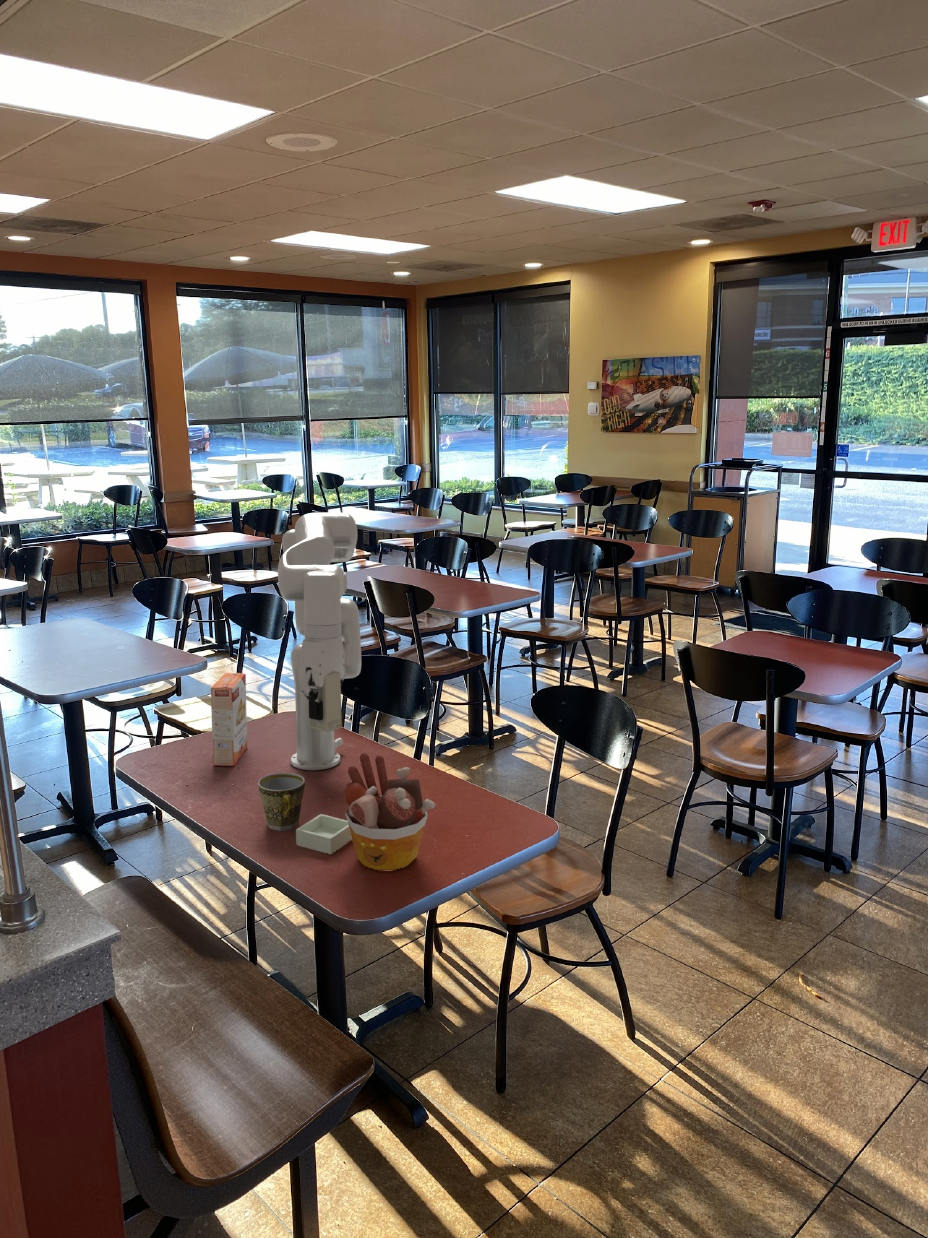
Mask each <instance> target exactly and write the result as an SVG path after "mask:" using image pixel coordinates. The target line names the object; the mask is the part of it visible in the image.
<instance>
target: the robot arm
mask: <svg viewBox="0 0 928 1238" xmlns="http://www.w3.org/2000/svg"><path fill="white" fill-rule="evenodd" d="M281 540H282V541H281V545H282V551H283V554H282V555H281V557H280V559H279V561H278V564H277V581H278V589H279V593H280V596H281V597H282V598H283V599H285V600H286V601H291V602H294V613H295V614H294V616H295V618H294V619H295V625H296V631H297V632H298V633H299V635H302V636H304V639H303V640H302V643H299V644H297V645H295V646H294V647H293V649H292V650H291V652H290V663H291V664H290V665H291V670H292V671H291V672H292V676H293V682H294V683H293V684H294V697H295V700H294V701H295V735H296V736H295V737H296V738H295V739H296V752H295V753H294V754H292V756H291V757H290V764H291V765H292V766H293V767H294V768H296V769H299V770H306V771H322V770H326V769H330V768H334V767H336V766H338V764H340V762H341V755H340V754H339V753H338V752H336V749H338V747H340V746H342V745H343V744H344V739H343V738H341V737H338V738H335V730H333V731H330V732H324V731H321V730H318V729H315V728H312V727H309V719H308V701H309V718H310V719H315V720H322V719H323V702H322V701H320V700H321V695H322V687H324V683H325V676H327V675H330V674H333V673H335V672H340V683H341V687H342V685H343V684H344V680H345V679H354V678H356V677H357V676H359V675H360V674H361V670H362V645H361V644H362V643H361V624H360V622H361V621H360V613H359V607H358V605H357V603H356V601H354V600H353V599H351V598H349V597H343V596H344V595H345V592H346V591H347V588H348V587H347V586H348V578H347V577H348V576H347V573H346V572H345V571H344V569H343V568H342V567H341V566H339V565H336V564H331V563H344V562H345V563H346V562H348V561H351V559H352V558H353V556H354V553H355V549H356V545H357V542H358V527H357V523H356V520H355V518H354V517H353V516H352V515H351V514H349V513H347V512H310V513H306V514H303V515H301V516H300V517H299V518H298V519H297V520H296V522H295V525H294V529H290V530H289V529H288V530H287V531H286V532H284V533H283V536H282V539H281ZM314 683H315V686H313V685H314ZM313 689H317V692H316V694H315V693H314V692H313Z"/></svg>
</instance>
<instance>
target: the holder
mask: <svg viewBox="0 0 928 1238" xmlns="http://www.w3.org/2000/svg"><path fill="white" fill-rule="evenodd" d="M295 840H296V841H295V842H296V846H299V847H303V848H305V849H309V850H314V851H316V852H321V853H324V854H327V853H328V854H329V855H333V854H334V853H336V852H337V851H339V849H341V848H342V847H344V846H345V845H347V844H348V843H350V842H351V841H353V840H352V836H351V832H350V828H349V824H348V820H347V819H341V818H339V817H336V816H330V815H327V814H323V813H320V814H318V815H316V816H315V817H314V818H312V819H311V820H309V821H307V822H306V823H304V824H302V825H301V826H300V827H297V828H296V829H295ZM350 840H351V841H350ZM349 841H350V842H349ZM347 842H348V843H347ZM343 845H344V846H343ZM336 850H337V851H336ZM333 852H334V853H333Z"/></svg>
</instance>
